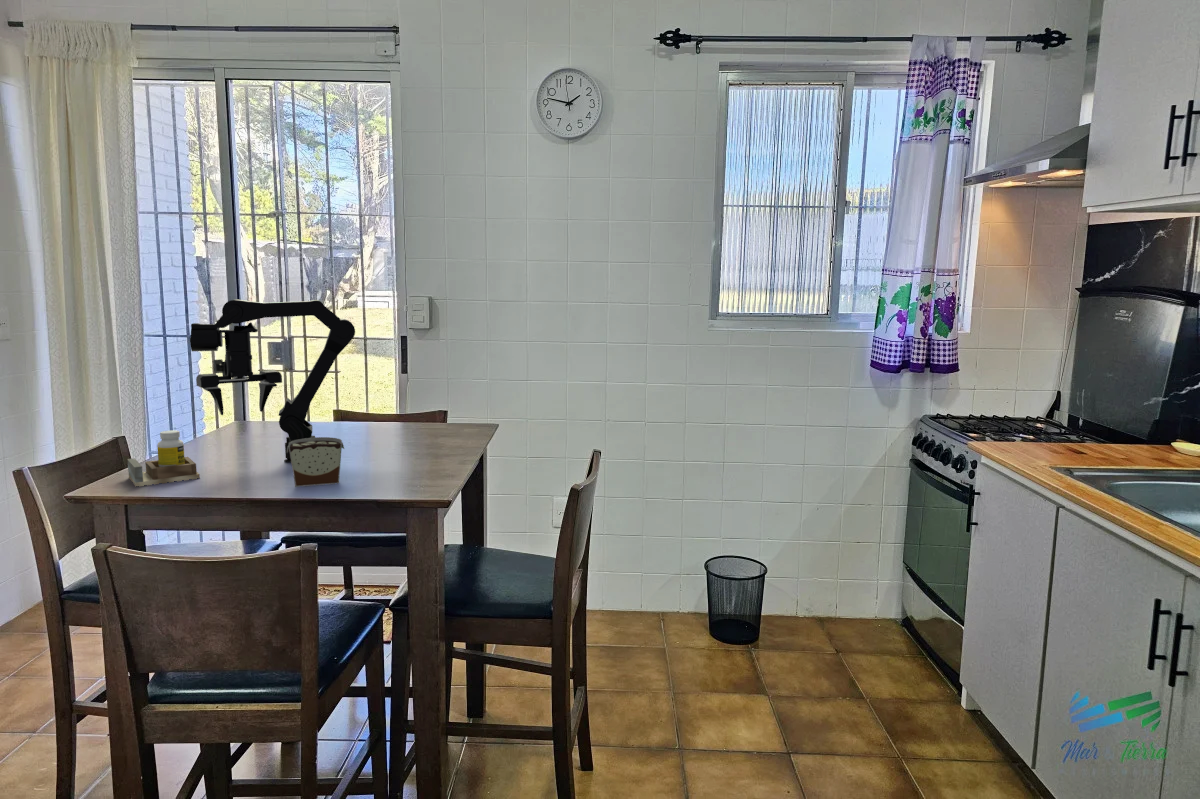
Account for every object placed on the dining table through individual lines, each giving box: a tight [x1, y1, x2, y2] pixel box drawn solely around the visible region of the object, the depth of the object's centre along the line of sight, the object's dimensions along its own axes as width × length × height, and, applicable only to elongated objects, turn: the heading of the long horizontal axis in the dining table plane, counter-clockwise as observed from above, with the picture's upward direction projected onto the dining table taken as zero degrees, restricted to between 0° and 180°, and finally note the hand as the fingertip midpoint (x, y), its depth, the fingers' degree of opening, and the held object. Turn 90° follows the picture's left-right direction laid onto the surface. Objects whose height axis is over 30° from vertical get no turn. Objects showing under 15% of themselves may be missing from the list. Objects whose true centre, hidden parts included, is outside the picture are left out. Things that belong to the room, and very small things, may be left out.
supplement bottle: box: [157, 429, 185, 467], centre depth 183 cm, size 5×5×10 cm
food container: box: [287, 436, 345, 488], centre depth 180 cm, size 12×6×10 cm, turn 111°
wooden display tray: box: [127, 456, 201, 487], centre depth 182 cm, size 13×10×4 cm
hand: (241, 413), depth 195 cm, fingers open, 9 cm apart
